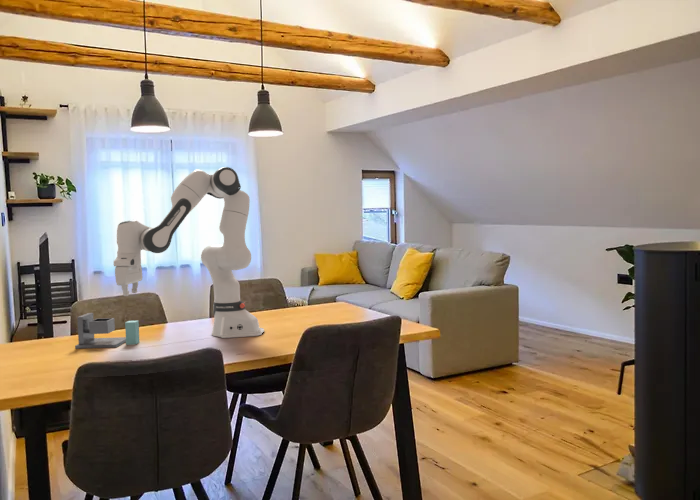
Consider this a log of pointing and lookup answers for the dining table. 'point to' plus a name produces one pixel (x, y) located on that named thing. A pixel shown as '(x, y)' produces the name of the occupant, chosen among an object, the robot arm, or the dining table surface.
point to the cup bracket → (96, 332)
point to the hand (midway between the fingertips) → (130, 294)
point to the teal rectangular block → (132, 332)
